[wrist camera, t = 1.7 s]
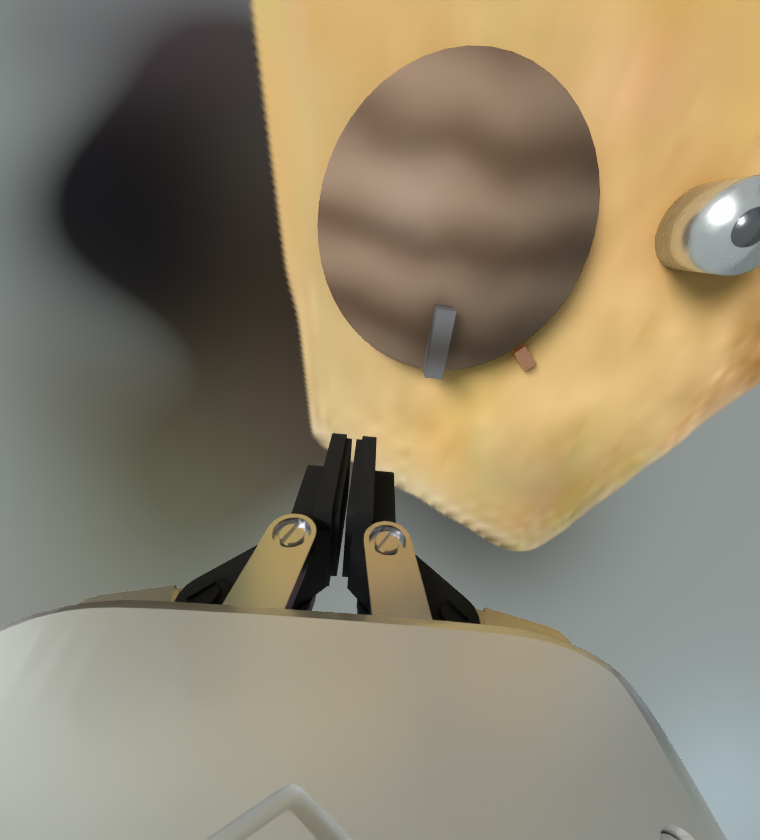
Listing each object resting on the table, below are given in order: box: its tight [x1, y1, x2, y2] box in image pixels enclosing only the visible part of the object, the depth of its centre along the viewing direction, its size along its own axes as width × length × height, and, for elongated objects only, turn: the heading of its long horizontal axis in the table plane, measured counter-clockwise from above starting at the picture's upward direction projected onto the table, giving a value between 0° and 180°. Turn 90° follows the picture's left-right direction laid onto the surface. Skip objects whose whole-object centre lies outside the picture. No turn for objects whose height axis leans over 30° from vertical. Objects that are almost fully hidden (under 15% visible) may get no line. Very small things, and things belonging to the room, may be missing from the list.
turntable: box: [318, 46, 600, 379], centre depth 27 cm, size 22×22×4 cm
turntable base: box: [511, 344, 536, 371], centre depth 30 cm, size 16×16×1 cm
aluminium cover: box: [655, 175, 760, 276], centre depth 26 cm, size 6×6×5 cm
